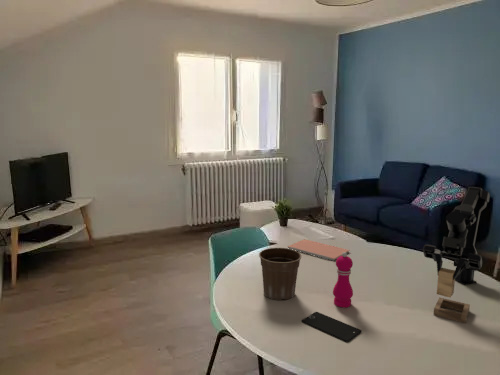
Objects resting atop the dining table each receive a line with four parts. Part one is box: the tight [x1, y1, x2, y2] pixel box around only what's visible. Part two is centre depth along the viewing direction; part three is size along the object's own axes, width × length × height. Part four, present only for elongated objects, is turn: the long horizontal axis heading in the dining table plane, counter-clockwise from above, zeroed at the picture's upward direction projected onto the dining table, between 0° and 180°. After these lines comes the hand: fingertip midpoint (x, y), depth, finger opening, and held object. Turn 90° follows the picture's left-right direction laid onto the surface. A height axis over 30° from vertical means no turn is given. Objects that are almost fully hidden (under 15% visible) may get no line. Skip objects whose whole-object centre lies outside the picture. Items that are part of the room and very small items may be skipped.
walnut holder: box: [433, 296, 471, 324], centre depth 141 cm, size 10×10×2 cm
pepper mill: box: [332, 252, 354, 308], centre depth 147 cm, size 7×7×20 cm
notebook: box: [287, 238, 350, 262], centre depth 205 cm, size 27×17×2 cm, turn 49°
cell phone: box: [301, 311, 362, 343], centre depth 133 cm, size 9×18×1 cm, turn 46°
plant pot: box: [258, 247, 302, 301], centre depth 155 cm, size 16×16×16 cm
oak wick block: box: [436, 267, 456, 298], centre depth 141 cm, size 4×4×8 cm
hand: (445, 277), depth 140 cm, fingers closed on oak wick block, 4 cm apart
